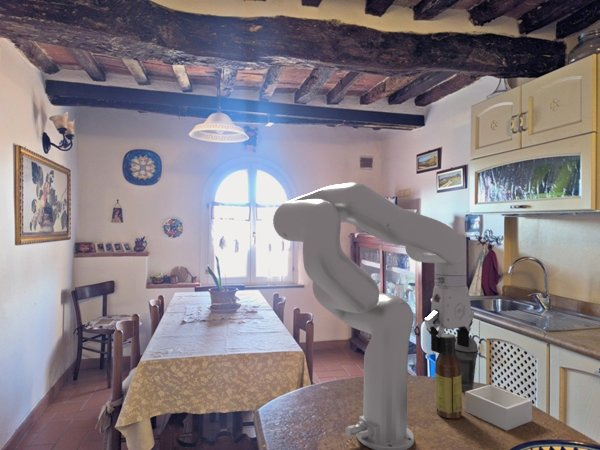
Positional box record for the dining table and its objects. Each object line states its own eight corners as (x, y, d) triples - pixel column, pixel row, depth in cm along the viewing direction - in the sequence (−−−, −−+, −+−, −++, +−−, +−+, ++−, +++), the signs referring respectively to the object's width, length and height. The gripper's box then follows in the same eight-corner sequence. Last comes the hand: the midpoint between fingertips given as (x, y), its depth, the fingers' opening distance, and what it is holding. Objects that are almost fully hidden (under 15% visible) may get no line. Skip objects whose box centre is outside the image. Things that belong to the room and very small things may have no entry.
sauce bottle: (457, 409, 103) (458, 332, 103) (465, 421, 97) (466, 339, 97) (431, 408, 104) (432, 331, 104) (437, 419, 97) (438, 337, 98)
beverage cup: (457, 393, 113) (458, 323, 113) (447, 383, 120) (448, 317, 121) (482, 393, 113) (483, 323, 114) (470, 383, 121) (471, 317, 121)
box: (506, 430, 92) (506, 409, 92) (465, 411, 102) (465, 391, 102) (531, 420, 97) (532, 400, 98) (490, 403, 107) (490, 384, 107)
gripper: (438, 285, 93) (438, 359, 93) (485, 280, 102) (485, 347, 102) (414, 281, 100) (414, 350, 100) (460, 277, 108) (460, 340, 108)
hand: (450, 348), depth 101 cm, fingers open, 9 cm apart
